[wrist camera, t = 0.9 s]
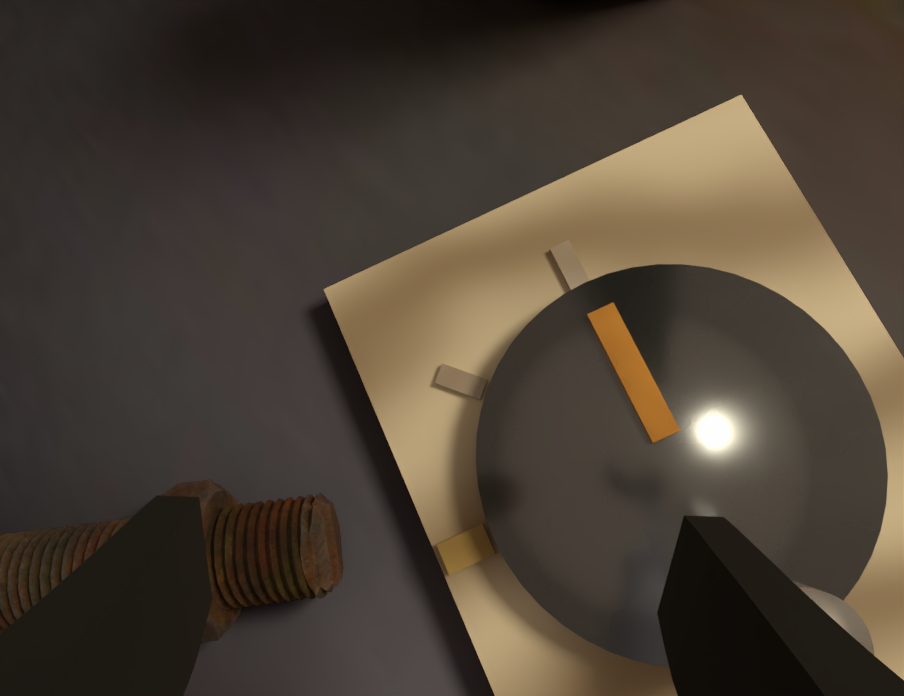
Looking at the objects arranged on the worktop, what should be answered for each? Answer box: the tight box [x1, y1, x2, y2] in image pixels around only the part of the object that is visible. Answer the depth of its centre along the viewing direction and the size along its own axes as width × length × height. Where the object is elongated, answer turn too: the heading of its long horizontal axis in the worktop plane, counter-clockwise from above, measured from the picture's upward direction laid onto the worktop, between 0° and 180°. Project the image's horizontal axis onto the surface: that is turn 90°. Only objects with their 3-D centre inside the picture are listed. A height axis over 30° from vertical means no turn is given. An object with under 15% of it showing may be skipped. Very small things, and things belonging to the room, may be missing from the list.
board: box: [324, 95, 904, 696], centre depth 23 cm, size 20×16×2 cm
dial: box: [476, 264, 888, 667], centre depth 20 cm, size 12×12×5 cm
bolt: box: [0, 480, 343, 642], centre depth 23 cm, size 6×5×15 cm
